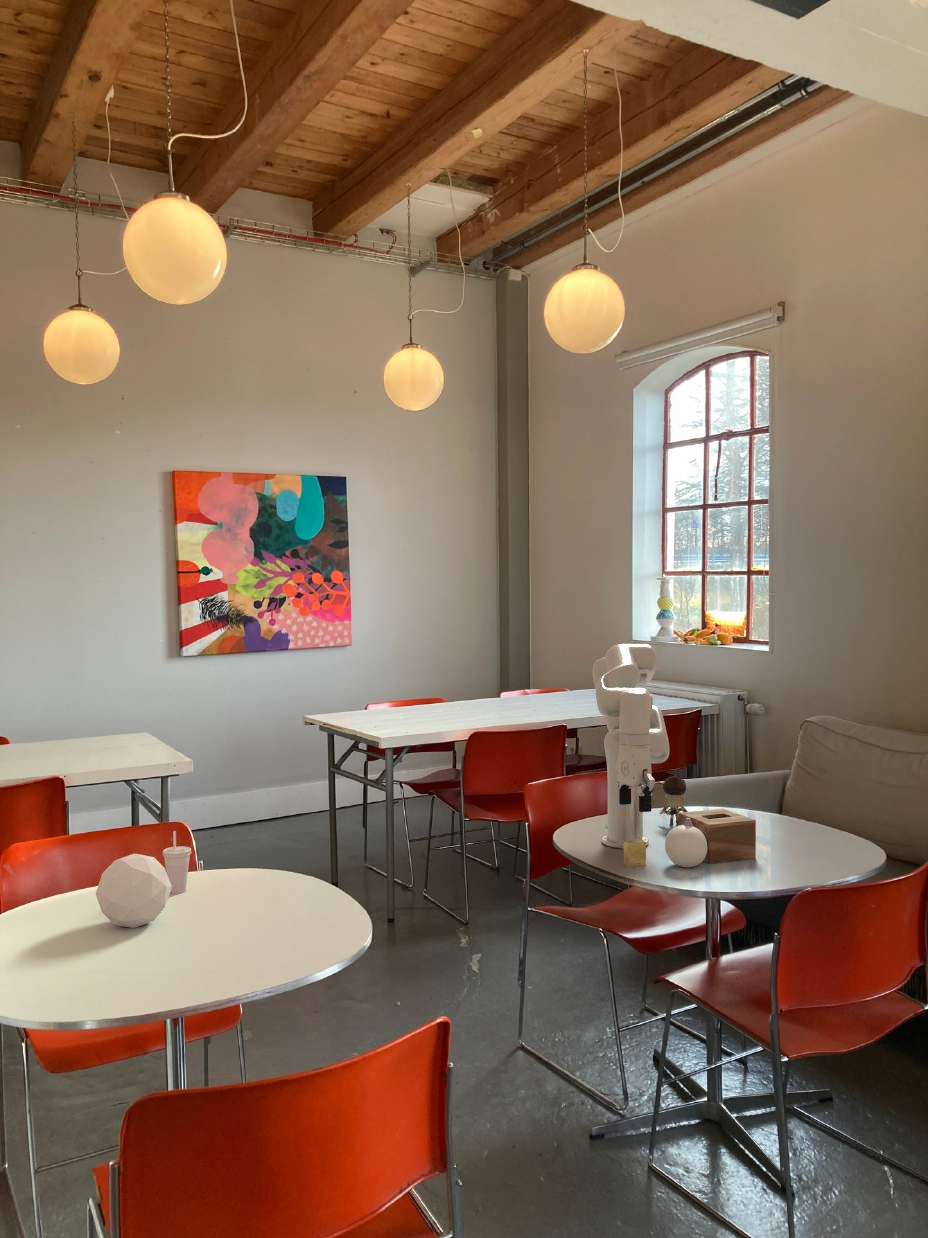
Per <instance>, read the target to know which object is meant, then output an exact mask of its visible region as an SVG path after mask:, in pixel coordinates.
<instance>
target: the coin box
mask: <svg viewBox="0 0 928 1238" xmlns="http://www.w3.org/2000/svg"><path fill="white" fill-rule="evenodd" d="M678 814H679V826H680V825H684V823H685V820H686V818H690V819H691V822H692V825H693V827H696V828H697V829H699V830H700V831H701V832H702V833H703V835H704V836H705V838H706V841H707V854H706V856H705V858H704V860H703V861H702V862H704V863H707V864H709V865H712V864H719V863H721V864H722V863H728V862H737V861H744V860H745V861H746V860H747V861H748V860H755V859H757V856H756V855H757V853H756V852H757V850H756V849H757V845H756V844H757V842H756V839H757V836H756V835H757V832H756V831H757V829H756V828H757V825H756V824H757V820H756V819H754V818H751V817H748V816H745V815H743V814H740V813H737V812H733V811H731V810H728V809H725V808H716V809H705V810H704V809H703V810H694V811H692V810H691V811H688V812H683V811H681V812H679V813H678ZM687 824H689V823H687Z"/></svg>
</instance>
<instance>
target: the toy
mask: <svg viewBox="0 0 928 1238" xmlns="http://www.w3.org/2000/svg"><path fill="white" fill-rule="evenodd" d="M662 790H663V792H664V793H665V794H664V798H665V800H664V801H665V802H667V803H666V805H665V806H664V807H663V808H662V809H660V812H659V815H663V814H664V815H665V814H666V816H667V815H668V816H670V819H669V825H670V826H674V818H675V826H676V827H677V826H679V813H680V812H689V811H688V810H687V809H686V808H685V807H684V805H683V802H685V797H686V796H685V793H686V790H687V783H686V782H685V780H684V779H682V778H681V777H679V776H677V775H671V776H669V777H668V778H665V779H664V781H663V783H662ZM667 809H668V810H667ZM674 815H675V817H674Z"/></svg>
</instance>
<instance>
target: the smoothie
mask: <svg viewBox="0 0 928 1238" xmlns="http://www.w3.org/2000/svg"><path fill="white" fill-rule="evenodd" d="M172 833H173V834H172V835H173V837H172V840H173V842H172V843H173V846H170V847H167V848H165V849H163V850H162V856H163V857H164V866H165V871H166V873H167V876H168V878H169V881H170V883H171V886H172V888H171V891H170V894H172V895H178V894H183V893H185V892H187V883H188V874H189V865H190V857H191V856H190V855H191V854H192V848H191V847H189V846H183V845H181V846H177V831H176V830H173V832H172Z"/></svg>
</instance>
